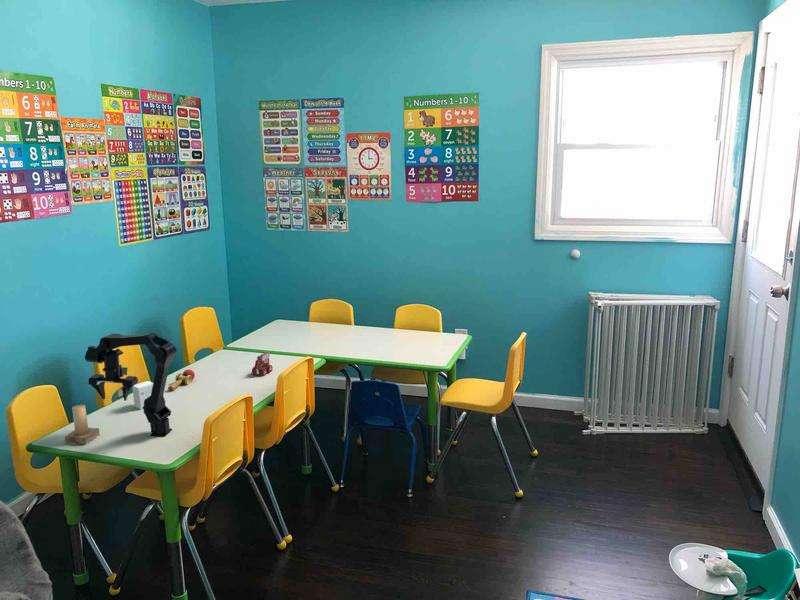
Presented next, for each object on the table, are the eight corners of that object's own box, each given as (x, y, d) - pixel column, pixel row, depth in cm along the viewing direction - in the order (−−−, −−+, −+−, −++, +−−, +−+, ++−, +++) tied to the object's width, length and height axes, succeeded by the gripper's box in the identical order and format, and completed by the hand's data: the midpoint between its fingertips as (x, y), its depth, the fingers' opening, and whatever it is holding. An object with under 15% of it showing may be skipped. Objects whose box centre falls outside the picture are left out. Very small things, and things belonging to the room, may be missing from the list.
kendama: (180, 394, 308) (200, 377, 325) (175, 383, 307) (196, 366, 323) (166, 395, 311) (187, 378, 327) (162, 384, 309) (183, 367, 325)
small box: (150, 401, 297) (148, 380, 294) (156, 404, 293) (154, 383, 291) (134, 407, 291) (131, 385, 288) (140, 410, 287) (138, 388, 285)
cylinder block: (90, 429, 261) (87, 404, 258) (85, 434, 256) (82, 409, 253) (78, 430, 260) (75, 404, 258) (73, 435, 256) (69, 409, 253)
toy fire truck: (249, 376, 328) (248, 357, 326) (263, 368, 339) (262, 350, 337) (261, 378, 325) (259, 358, 323) (274, 370, 337) (273, 351, 334)
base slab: (99, 434, 262) (98, 428, 262) (86, 444, 254) (85, 437, 253) (79, 433, 264) (78, 427, 263) (65, 443, 255) (64, 436, 254)
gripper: (143, 359, 268) (145, 393, 272) (100, 356, 270) (103, 390, 273) (130, 368, 258) (132, 404, 261) (85, 365, 259) (89, 401, 263)
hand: (114, 399), depth 265 cm, fingers open, 9 cm apart
